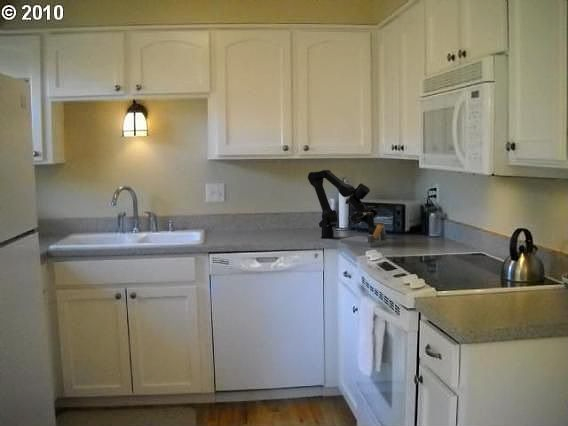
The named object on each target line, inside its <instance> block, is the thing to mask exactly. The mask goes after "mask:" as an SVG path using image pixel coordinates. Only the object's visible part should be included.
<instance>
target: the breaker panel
mask: <svg viewBox="0 0 568 426" xmlns="http://www.w3.org/2000/svg"><path fill="white" fill-rule="evenodd" d="M388 243H389V242H388V239H387V233H386V232H385V233H381V234H379V236H378V239H377V240H374V236H373V235H369V234H368V236H364V235H355V236H349V237H344V238H340V244H346V245H347V244H348V245H354V246H360V247H365V248H366V247H368V248H372V247H379V246H381V245H386V244H388Z"/></svg>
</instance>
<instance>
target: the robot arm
mask: <svg viewBox="0 0 568 426" xmlns="http://www.w3.org/2000/svg"><path fill="white" fill-rule="evenodd" d="M324 179H325V180H327V181H328V182H329V183H330V184H332V186H334V187H335V188H336V189H337V190H338V193H339V194H340V196H341V197H343V198H346V199H345V204H346V205H349V204H350V206H351V207H352V208H353V209H352V212H353V213H352V215H349V216H348V217H347V219H348V221H349V223H350V224H354V225H360V224H361V223H365V224H366V225H367V226H368V225H369V226H370V227H372V228H374V227H375V225H374V221H375V218H376V216H377V215H378V214H380V211H379V209H378V208H372V209H369V208H367V207H366V202H363V201H362V200H364V199H365V198H366V196H368V195H369V193H371V192H370V188H369V187H368V186H367V185H365V184H363V183H361V182H360V183H359V184H358V186H357V187H356V188H355V187H354V186H353V185H351V184H349V183H346V182H344V181H342V180H341V179H340V178H339V177H338V176H336V175H335V174H334V173H333V172H332V171H331V170H330V169H323V170H320V171H310V172H309V173H308V175H307V180H308V182H309V184H310V185H311V186H312V187H313V188H314V190H315V194H316V196H317V199H318V202H319V205H320V208H321V211H322V212H321V220H320V222H319V223H318V225H319V228H321V237H320V238H321V239H333V238H334V237H335V229H334V227H336V225H337V223H338V219H339V218H338V217H339V216H338V214H337V211H336V209H332V207H331V205H330V202H329V199H328V197H327V193H326V191H325V187H324Z"/></svg>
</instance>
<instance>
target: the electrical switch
mask: <svg viewBox="0 0 568 426" xmlns="http://www.w3.org/2000/svg"><path fill="white" fill-rule="evenodd" d="M378 224H381V225H383V228H382V230H381V232H380V234H381V233H386V229H385V227H386V226H385V222H384V221H375V220H374V225H375V227H374V228H372V227H370V226H369V225H368V224H367V228H368V235H373V234H374V231H375V229H376V227H377V225H378Z"/></svg>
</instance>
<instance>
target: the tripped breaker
mask: <svg viewBox="0 0 568 426" xmlns="http://www.w3.org/2000/svg"><path fill="white" fill-rule="evenodd" d="M382 228H383V225H381V224H378V225H377V227H376V229H375V231H374V234H373V236H374V240H377V239H378V236H379V234H380V232H381V230H382Z"/></svg>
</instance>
